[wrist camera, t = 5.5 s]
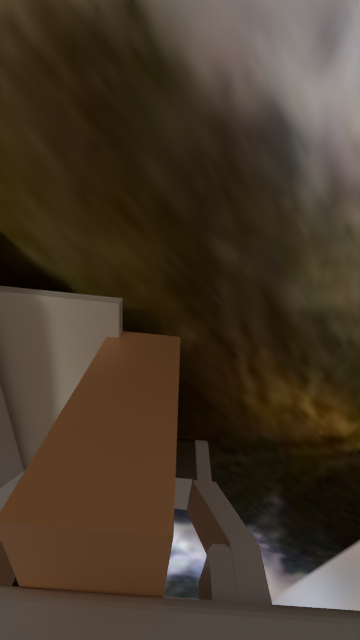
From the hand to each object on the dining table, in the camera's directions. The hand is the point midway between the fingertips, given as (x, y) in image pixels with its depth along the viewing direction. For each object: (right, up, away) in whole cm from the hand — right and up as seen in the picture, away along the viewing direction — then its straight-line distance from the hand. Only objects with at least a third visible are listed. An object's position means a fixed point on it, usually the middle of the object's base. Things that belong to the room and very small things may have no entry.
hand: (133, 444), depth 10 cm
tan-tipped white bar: (-10, +2, +2) cm, 10 cm away
